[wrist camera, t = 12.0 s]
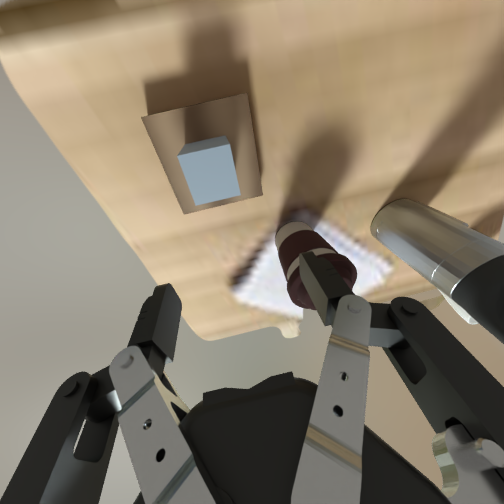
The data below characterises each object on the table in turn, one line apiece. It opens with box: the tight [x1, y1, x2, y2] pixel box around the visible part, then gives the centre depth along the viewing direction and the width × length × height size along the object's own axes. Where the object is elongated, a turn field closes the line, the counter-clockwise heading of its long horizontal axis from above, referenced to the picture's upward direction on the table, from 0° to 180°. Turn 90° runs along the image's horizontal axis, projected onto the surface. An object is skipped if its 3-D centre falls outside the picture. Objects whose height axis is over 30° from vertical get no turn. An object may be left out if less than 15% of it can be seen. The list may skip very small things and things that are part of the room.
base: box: [141, 93, 263, 214], centre depth 26 cm, size 12×12×3 cm
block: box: [177, 135, 241, 206], centre depth 22 cm, size 5×5×7 cm
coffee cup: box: [275, 221, 357, 310], centre depth 32 cm, size 10×10×15 cm
